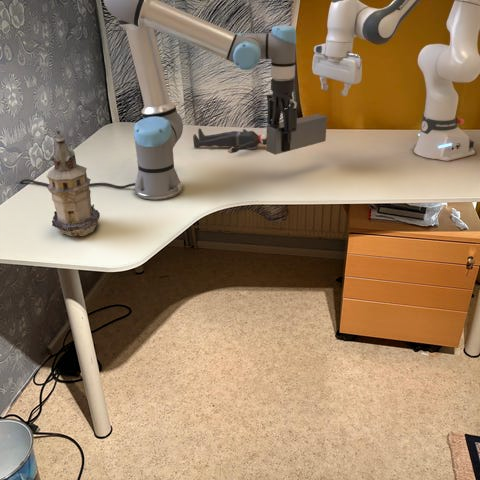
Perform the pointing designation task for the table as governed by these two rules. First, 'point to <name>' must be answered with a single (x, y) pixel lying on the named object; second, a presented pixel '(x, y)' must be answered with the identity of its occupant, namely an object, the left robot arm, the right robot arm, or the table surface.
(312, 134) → the bar
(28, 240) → the table surface
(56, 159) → the miniature building
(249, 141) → the toy
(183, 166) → the table surface
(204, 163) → the table surface
